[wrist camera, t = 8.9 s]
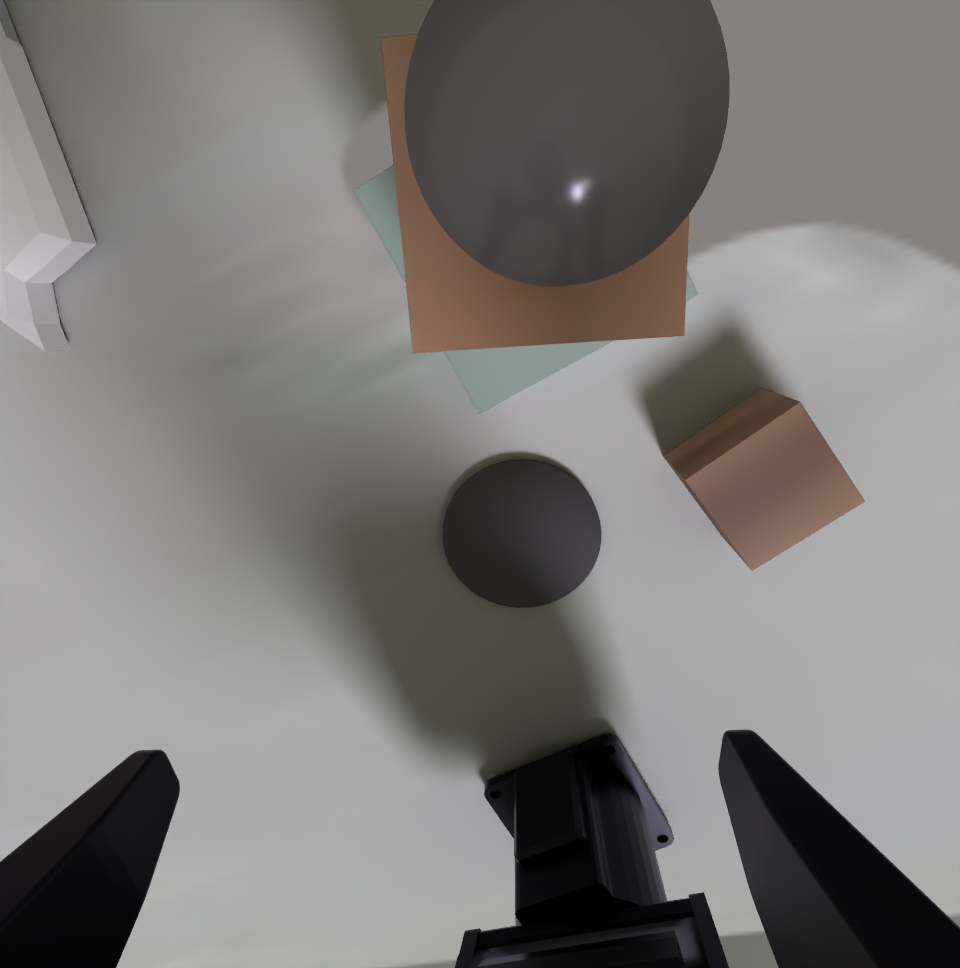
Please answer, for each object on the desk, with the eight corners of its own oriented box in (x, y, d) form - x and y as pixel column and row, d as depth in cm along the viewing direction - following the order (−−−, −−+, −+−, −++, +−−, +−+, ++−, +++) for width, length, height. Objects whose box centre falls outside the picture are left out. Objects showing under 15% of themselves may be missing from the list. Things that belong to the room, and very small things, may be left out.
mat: (690, 294, 19) (698, 294, 18) (480, 409, 21) (479, 414, 20) (583, 46, 17) (586, 35, 16) (359, 195, 19) (353, 191, 18)
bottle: (602, 315, 19) (809, 366, 6) (461, 324, 19) (343, 395, 6) (601, 155, 17) (881, -285, 4) (449, 169, 18) (258, -196, 4)
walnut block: (817, 472, 21) (865, 501, 18) (720, 534, 22) (752, 571, 19) (759, 386, 20) (800, 402, 17) (661, 455, 21) (685, 480, 18)
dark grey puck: (626, 564, 22) (627, 567, 22) (490, 626, 23) (490, 630, 23) (555, 431, 21) (556, 433, 20) (414, 504, 22) (413, 507, 22)
